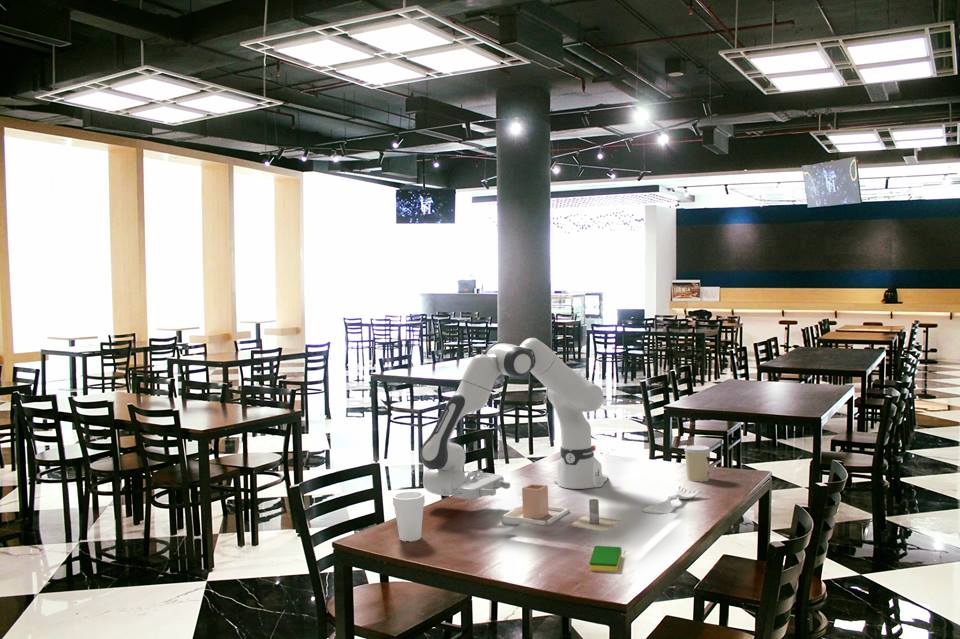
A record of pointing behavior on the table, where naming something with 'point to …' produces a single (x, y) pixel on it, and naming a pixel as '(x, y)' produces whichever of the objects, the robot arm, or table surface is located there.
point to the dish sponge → (605, 558)
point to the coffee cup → (697, 462)
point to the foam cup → (409, 514)
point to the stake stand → (594, 519)
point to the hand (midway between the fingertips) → (502, 489)
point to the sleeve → (535, 501)
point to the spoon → (666, 505)
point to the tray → (517, 518)
